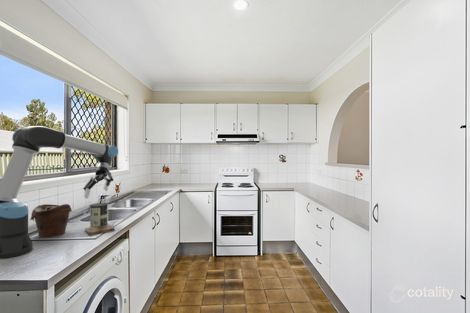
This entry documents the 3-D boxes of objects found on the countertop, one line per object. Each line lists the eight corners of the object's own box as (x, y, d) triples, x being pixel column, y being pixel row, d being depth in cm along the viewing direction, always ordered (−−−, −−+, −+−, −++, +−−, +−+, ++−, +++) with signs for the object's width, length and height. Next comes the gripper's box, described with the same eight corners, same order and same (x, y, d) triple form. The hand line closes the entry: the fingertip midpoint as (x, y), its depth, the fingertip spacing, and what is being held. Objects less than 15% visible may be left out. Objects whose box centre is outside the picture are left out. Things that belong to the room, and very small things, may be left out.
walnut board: (88, 235, 146) (88, 232, 146) (85, 230, 154) (85, 228, 154) (114, 230, 155) (114, 228, 155) (109, 226, 163) (109, 224, 163)
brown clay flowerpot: (36, 231, 153) (36, 201, 153) (74, 227, 161) (74, 199, 160) (25, 241, 137) (24, 208, 136) (68, 236, 144) (68, 205, 144)
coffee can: (106, 223, 172) (106, 202, 172) (108, 226, 163) (108, 205, 163) (89, 225, 166) (89, 204, 166) (90, 229, 158) (90, 206, 158)
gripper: (122, 167, 174) (117, 190, 158) (90, 179, 176) (82, 203, 160) (115, 160, 169) (109, 182, 153) (82, 173, 171) (73, 196, 155)
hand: (95, 193), depth 157 cm, fingers open, 13 cm apart
